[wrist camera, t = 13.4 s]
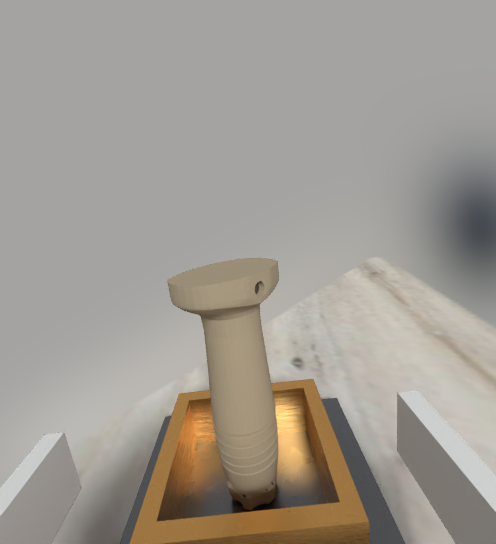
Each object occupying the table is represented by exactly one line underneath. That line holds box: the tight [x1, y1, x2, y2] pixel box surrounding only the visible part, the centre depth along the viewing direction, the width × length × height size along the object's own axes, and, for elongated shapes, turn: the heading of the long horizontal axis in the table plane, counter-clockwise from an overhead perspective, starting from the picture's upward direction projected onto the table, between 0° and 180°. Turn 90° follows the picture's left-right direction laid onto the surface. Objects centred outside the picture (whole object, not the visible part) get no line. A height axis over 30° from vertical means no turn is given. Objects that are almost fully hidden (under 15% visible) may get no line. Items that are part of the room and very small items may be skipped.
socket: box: [120, 379, 405, 544], centre depth 19 cm, size 16×16×5 cm
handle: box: [168, 258, 279, 510], centre depth 18 cm, size 5×6×15 cm
